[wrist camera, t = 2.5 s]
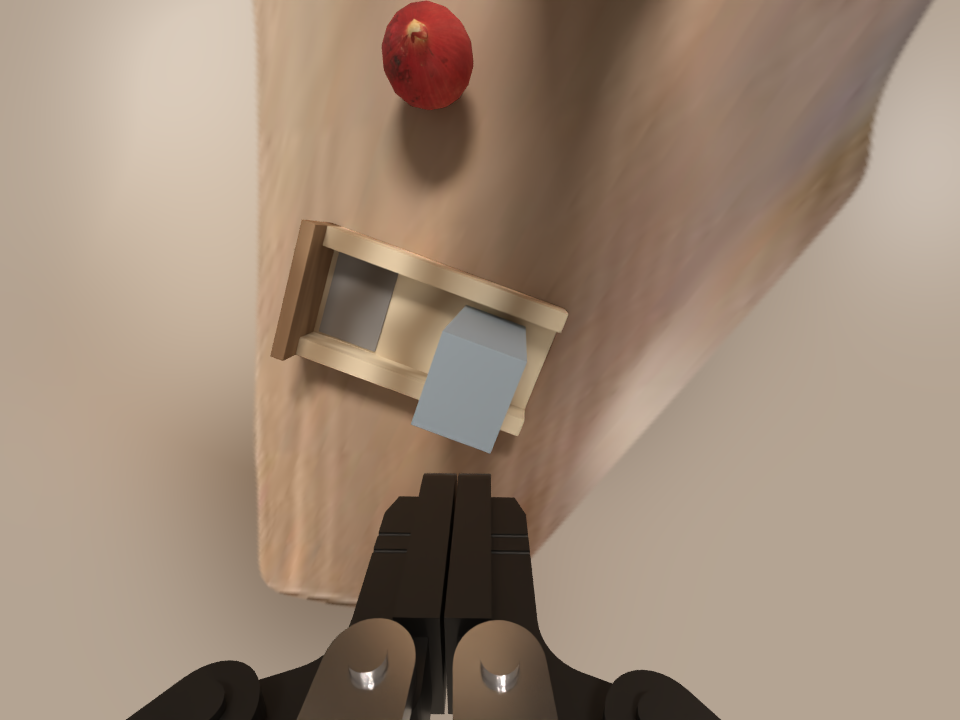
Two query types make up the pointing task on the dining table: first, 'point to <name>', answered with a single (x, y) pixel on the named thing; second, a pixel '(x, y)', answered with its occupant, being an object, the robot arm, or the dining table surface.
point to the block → (472, 378)
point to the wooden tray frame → (394, 312)
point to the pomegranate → (427, 55)
